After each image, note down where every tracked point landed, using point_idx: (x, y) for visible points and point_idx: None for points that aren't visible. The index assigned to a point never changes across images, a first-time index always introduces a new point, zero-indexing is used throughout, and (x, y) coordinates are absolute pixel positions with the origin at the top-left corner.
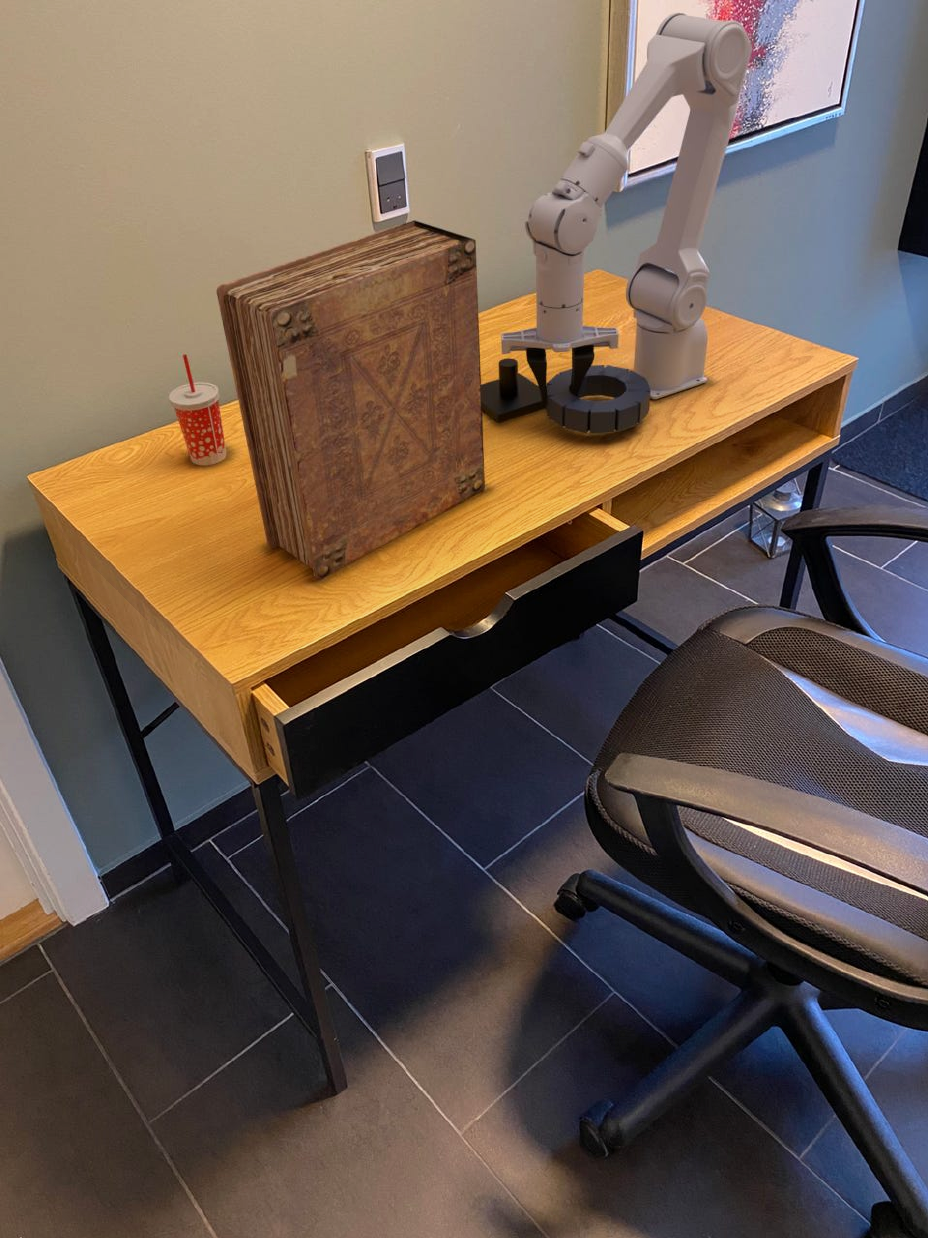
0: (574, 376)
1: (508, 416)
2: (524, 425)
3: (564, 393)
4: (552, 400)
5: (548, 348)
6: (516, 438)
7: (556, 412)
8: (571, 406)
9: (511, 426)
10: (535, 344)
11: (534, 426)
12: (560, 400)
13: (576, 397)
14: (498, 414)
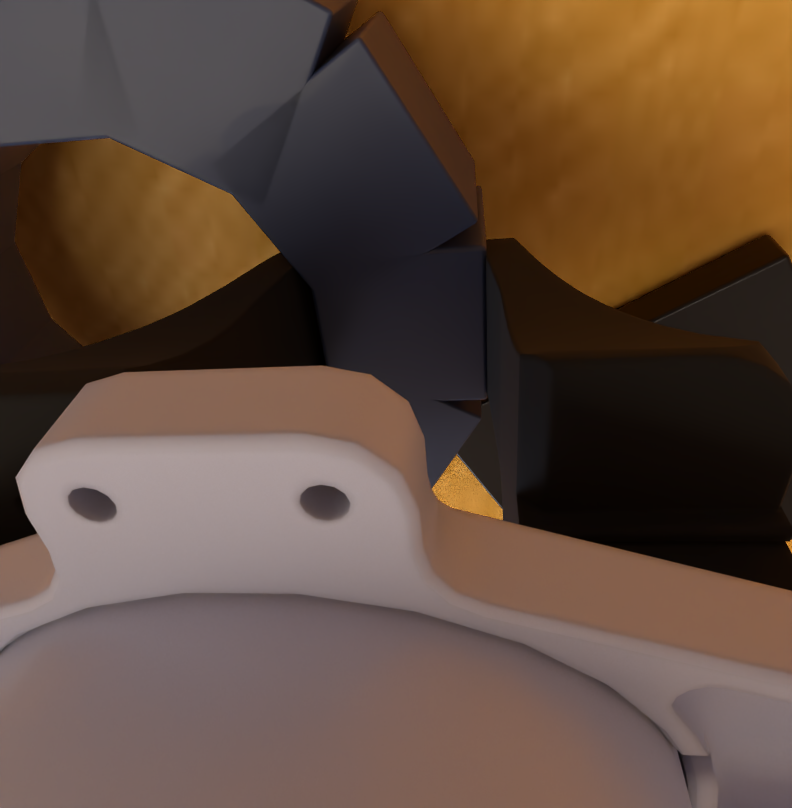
0: (230, 321)
1: (701, 276)
2: (613, 200)
3: (352, 273)
4: (447, 169)
5: (511, 523)
6: (697, 21)
7: (417, 95)
8: (272, 30)
9: (695, 190)
10: (771, 629)
11: (555, 187)
12: (379, 157)
13: (253, 206)
14: (783, 260)
